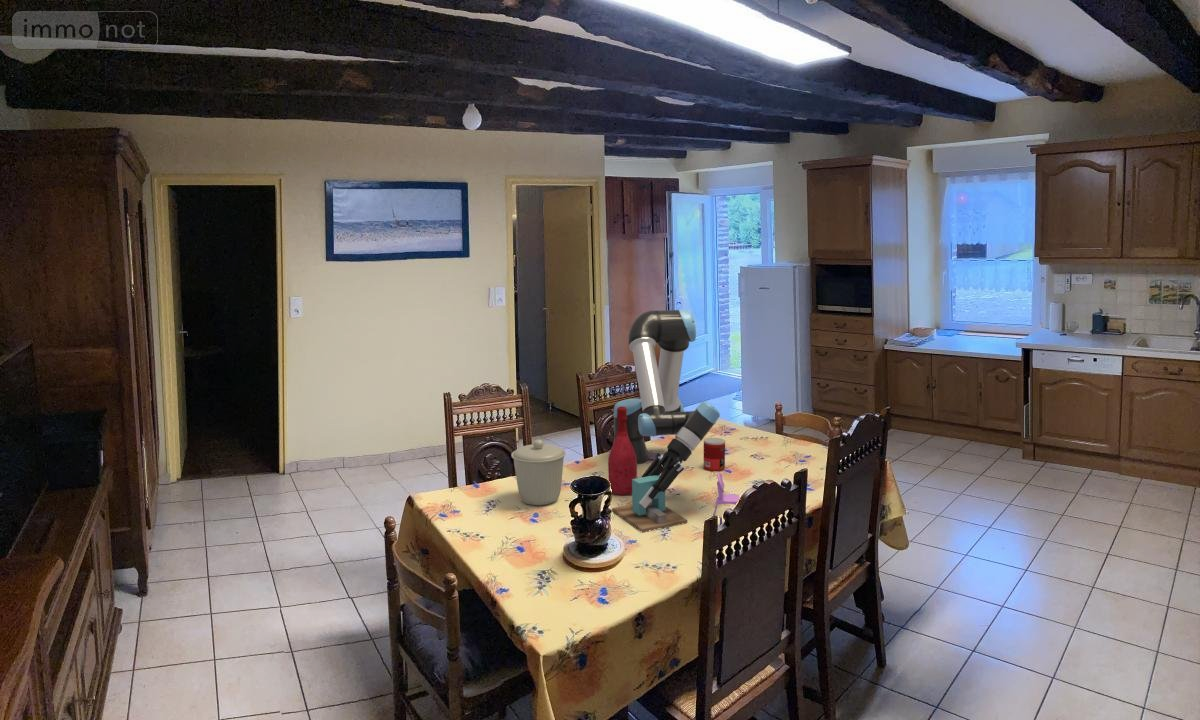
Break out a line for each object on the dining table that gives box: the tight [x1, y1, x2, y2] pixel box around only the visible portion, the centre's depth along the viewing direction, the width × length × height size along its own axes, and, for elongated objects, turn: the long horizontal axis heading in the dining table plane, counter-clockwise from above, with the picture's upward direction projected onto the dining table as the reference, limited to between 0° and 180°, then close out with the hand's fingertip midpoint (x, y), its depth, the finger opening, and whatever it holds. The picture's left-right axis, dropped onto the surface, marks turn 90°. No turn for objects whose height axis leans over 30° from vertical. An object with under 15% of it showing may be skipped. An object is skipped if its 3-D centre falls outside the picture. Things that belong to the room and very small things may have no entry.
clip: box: [631, 474, 666, 516], centre depth 247 cm, size 9×4×10 cm, turn 116°
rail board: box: [611, 501, 688, 533], centre depth 248 cm, size 20×16×4 cm
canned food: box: [703, 437, 726, 472], centre depth 294 cm, size 8×8×11 cm
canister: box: [510, 439, 567, 506], centre depth 262 cm, size 18×18×21 cm
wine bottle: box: [607, 407, 638, 496], centre depth 269 cm, size 10×10×30 cm
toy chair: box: [712, 472, 740, 517], centre depth 243 cm, size 8×9×15 cm
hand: (638, 502), depth 246 cm, fingers closed on clip, 4 cm apart
